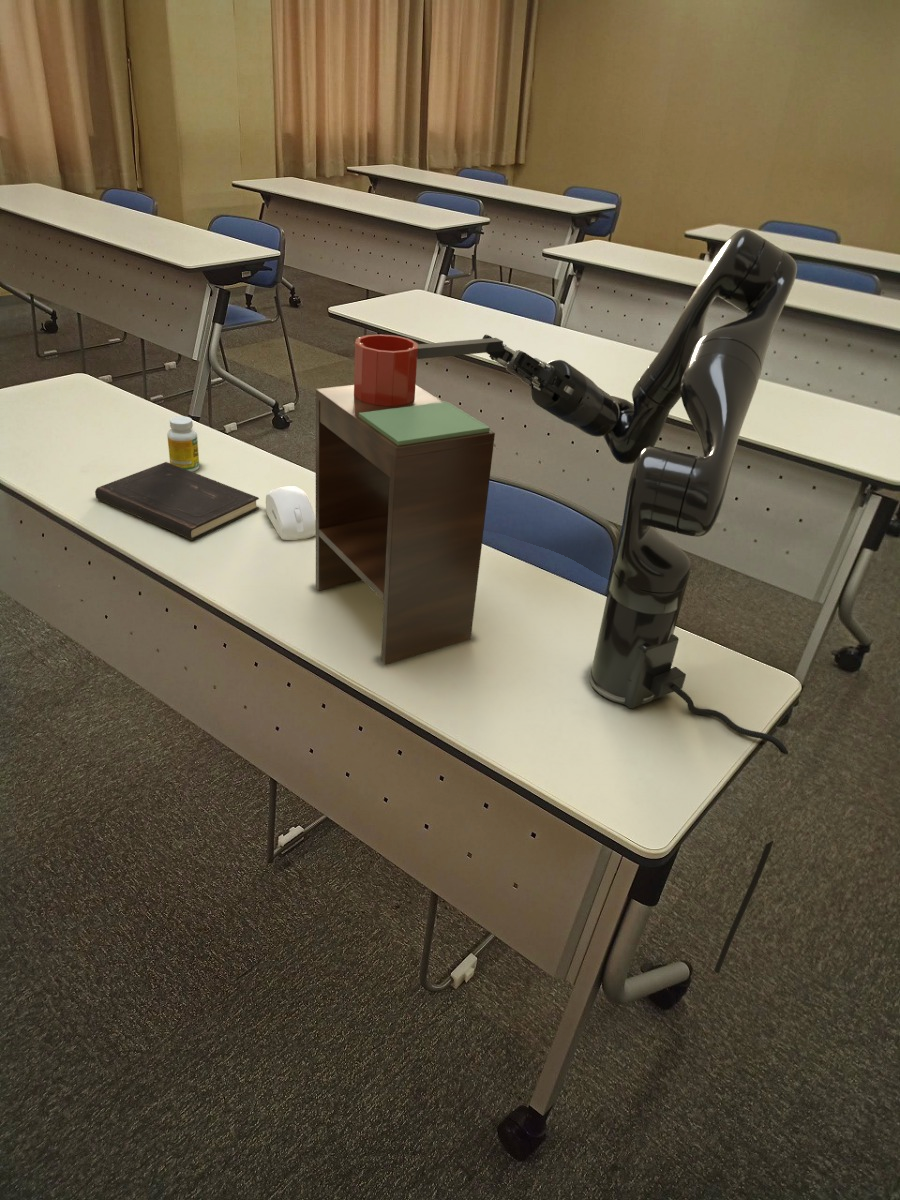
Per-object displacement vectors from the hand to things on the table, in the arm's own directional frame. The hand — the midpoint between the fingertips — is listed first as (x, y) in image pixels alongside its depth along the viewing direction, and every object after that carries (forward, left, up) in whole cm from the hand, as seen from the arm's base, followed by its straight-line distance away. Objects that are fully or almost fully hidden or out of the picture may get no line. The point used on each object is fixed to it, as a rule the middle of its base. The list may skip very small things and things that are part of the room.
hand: (499, 349), depth 119 cm
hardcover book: (+41, +36, -36) cm, 65 cm away
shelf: (-5, +19, -36) cm, 41 cm away
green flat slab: (-11, +19, -5) cm, 22 cm away
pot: (0, +11, -5) cm, 12 cm away
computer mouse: (+27, +21, -36) cm, 49 cm away
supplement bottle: (+56, +30, -36) cm, 73 cm away
